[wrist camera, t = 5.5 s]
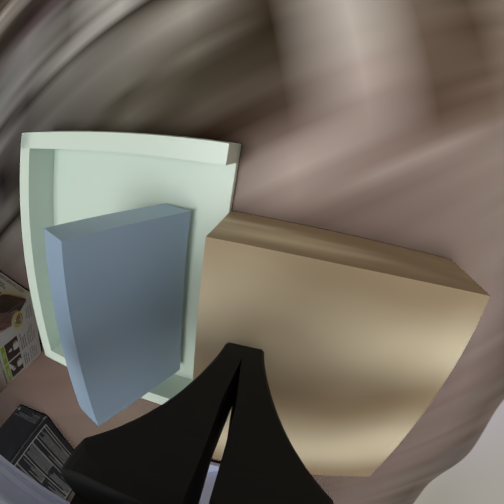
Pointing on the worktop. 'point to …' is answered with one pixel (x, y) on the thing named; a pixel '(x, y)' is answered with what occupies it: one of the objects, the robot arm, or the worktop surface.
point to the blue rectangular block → (119, 302)
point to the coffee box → (16, 331)
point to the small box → (36, 449)
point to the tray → (122, 208)
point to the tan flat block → (335, 332)
